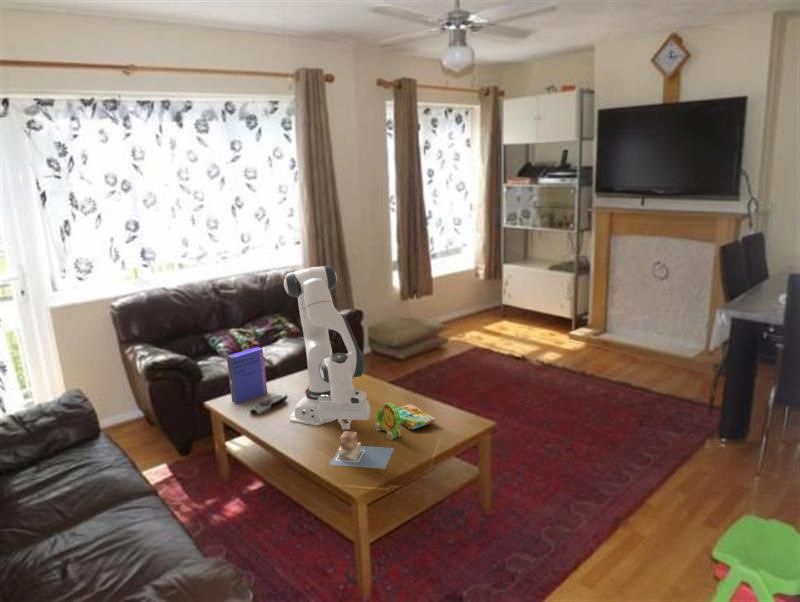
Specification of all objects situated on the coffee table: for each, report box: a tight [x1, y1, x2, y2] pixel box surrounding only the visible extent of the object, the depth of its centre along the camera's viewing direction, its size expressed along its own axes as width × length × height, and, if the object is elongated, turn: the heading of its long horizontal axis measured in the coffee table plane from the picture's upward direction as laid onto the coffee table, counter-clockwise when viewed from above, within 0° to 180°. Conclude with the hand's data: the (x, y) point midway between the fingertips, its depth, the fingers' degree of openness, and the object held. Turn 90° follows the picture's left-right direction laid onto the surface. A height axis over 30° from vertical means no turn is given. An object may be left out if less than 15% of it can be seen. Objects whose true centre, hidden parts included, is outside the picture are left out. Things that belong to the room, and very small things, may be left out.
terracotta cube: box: [339, 430, 358, 450], centre depth 223 cm, size 5×5×5 cm
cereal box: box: [226, 346, 268, 404], centre depth 285 cm, size 17×5×24 cm, turn 136°
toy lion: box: [374, 402, 402, 441], centre depth 239 cm, size 16×5×15 cm, turn 33°
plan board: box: [328, 445, 395, 470], centre depth 223 cm, size 22×16×1 cm
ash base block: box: [337, 441, 362, 460], centre depth 224 cm, size 7×7×4 cm
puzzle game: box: [396, 403, 437, 430], centre depth 252 cm, size 12×5×20 cm
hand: (346, 428), depth 221 cm, fingers closed
